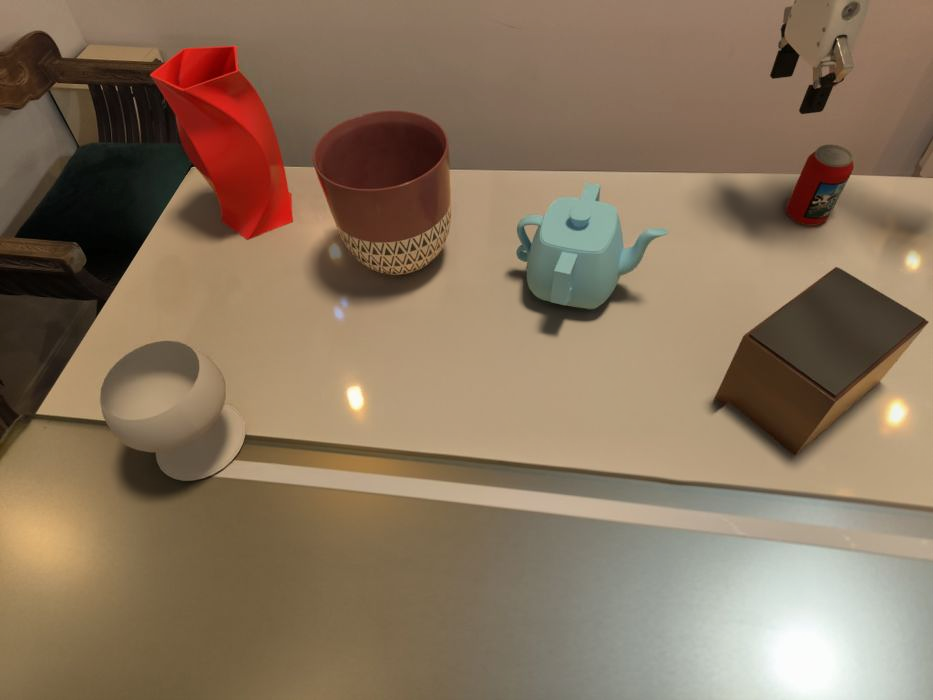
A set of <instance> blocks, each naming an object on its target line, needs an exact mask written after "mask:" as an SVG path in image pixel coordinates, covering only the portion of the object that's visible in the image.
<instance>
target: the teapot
mask: <svg viewBox="0 0 933 700" xmlns="http://www.w3.org/2000/svg"><path fill="white" fill-rule="evenodd" d="M600 198H601V184H596V183H590V182H586V183H585V185H584V188H583V191H582V193H581V196H580V197H573V196H572V197H571V196H561V197H558V198H556V199H554V200H553V202H552V203H551V204H550V206H549V207H548V209H547V210H546V212H545V214H544V216H543V215H541V214H527V215H525V216H524V217H522V218H520V220H519V221H518V223H517V226H516V234H517V237H518V240H519V242H520V245H519V246H518V247H517V249H516V252H515V253H516V257H517V258H518V259H519V260H520V261H521V262H523V263H526V282H527V285H528V288H529V290H530V291H531V292H532V294H533V295H534V296H535V297H536V298H538V299H540V301H546V302H550V303H553V304H558V305H561V306H569V307H573V308H579V309H586V310H591V311H592V310H596V309H597V308H599V307H600V306H602V304H604V303H605V302H606V301H607V300H608V299H609V297H610V296H611V295H612V293H613V292H614V290H615V289H616V286H617V285H618V282H619V280H620V278H621V276H624V275H628V274H629V273H631V272H633V271H634V270H635V269H636V268H638V266H639V265H640V263H641V261H642V259H643V257H644V255H645V252H646V250H647V248H648V246H649V245H650V243H651V242H652V241H654V240H655V239H657V238H660V237H664V236H666V235H667V234H669V232H670V231H669V230H668V229H666V228H661V227H653V228H648V229H646V230H644V231H642V232H641V233H640V234H639V236H638V237H637V239H636V240H635V243H634V244H633V245H632V246H631V247H627V248H624V237H623V236H624V235H623V230H622V229H623V228H622V224H621V221H620V217H619V216H620V215H619V214H618V210H617V208H616V207H615V206H614V205H612V204H610V203H607V202H605V201H604V202H603V201H600ZM531 225H532V226H537V229H536V231H535V232H534V234H533V235H534V236H533V238H532V241H531V239H530V238H529V237H528V234H527V232H526V229H525V227H526V226H531Z"/></svg>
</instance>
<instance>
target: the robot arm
mask: <svg viewBox="0 0 933 700" xmlns="http://www.w3.org/2000/svg"><path fill="white" fill-rule="evenodd" d="M870 3H871V0H794V2H793V3H792V5H791V6H790V5H789V6H786V7H785V8H784V10H783V18H782V19H783V20H782V23H783V24H782V25H781V28H780V35H781V36H780V40H779V41H778V42H777V43H778V44H777V49H778V50H777V53H776V55H775V59H774V62H773V65H772V68H771V71H770V74H769V77H770V78H771V79H772V80H774V79H782V78H791V77H793V75H794V72H795V70H796V67H797V65H798V61H799V59H800V58H802V60H803V61H804V62H805V63H806V64H808V65H809V66H810V67H812V84H808V86H807V88H806V92H805V93H804V96H803V99H802V101H801V104H800V107H799V110H798V112H799V113H800V114H801V115H807V114H815V113H821V112H823V111H824V109H825V108H826V105H827V102H828V100H829V98H830V95H831V93H832V90H833V89H834V87H838V84H840V83H842V82H843V81H844V80H845V78H846V77H847V76H848V75H849V74H850V73H851V71H852V70H854V61H853V58H852V55H853V52H854V50H855V47H856V44H857V42H858V40H859V37H860V34H861V32H862V29H863V26H864V23H865V20H866V17H867V14H868V10H869V7H870ZM828 57H829V59H830V60H825V59H826V58H828ZM823 60H824V61H823ZM823 68H828V73H827V74H825V75H823Z"/></svg>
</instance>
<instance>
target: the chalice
mask: <svg viewBox="0 0 933 700" xmlns="http://www.w3.org/2000/svg"><path fill="white" fill-rule="evenodd" d="M226 387H227V385H226V380H225V377H224V374H223V372H222V370H221V368H220V367H219V366H218V365H217V364H216V362H215V361H214V359H212V358H211V357H210V356H208V355H207V354H206V353H204V352H203V351H201V350H200V349H198V348H197V347H194V346H193V345H190V344H188V343H184V342H182V341H178V340H177V341H176V340H162V341H159V340H158V341H154V342H151V343H146V344H144V345H142V346H140V347H137V348H135V349H133V350H131V351H130V352H128V353H127V354H125V355H124V356H123V357H121V358H120V359H119V360H118V361H117V362H115V364H114V365H113V366H112V367H111V368H110V369H109V371H108V372H107V374H106V376H105V377H104V379H103V382H102V385H101V387H100V394H99V404H100V408H101V413H102V417H103V420H104V421H105V423H106V425H107V426H108V428H109V430H110V431H111V433H112V434H113V436H114V437H115V438H116V439H118V440H119V441H120V442H121V443H122V444H124V445H125V446H126V447H129V448H130V449H133V450H136V451H140V452H146V453H155V457H156V463H157V465H158V466H159V469H160V470H161V471H162V473H164V474H165V475H166V476H167V477H170V478H172V479H174V480H178V481H182V482H186V481H187V482H189V481H198V480H202V479H205V478H208V477H210V476H212V475H215V474H217V473H218V472H219V471H221V470H223V469H224V468H225V467H227V466H228V465H229V464H230V463H231V462H232V461H233V460H234V459H235V457H237V455H238V453H239V452H240V450H241V449H242V447H243V445H244V441H245V437H246V432H247V431H246V430H247V429H246V422H245V419H244V416H243V415H242V414H241V413H240V411H238V410H237V409H236V408H235V407H234V406H232V405H229V404H227V403H225V402H226V397H227V388H226Z"/></svg>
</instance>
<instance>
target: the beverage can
mask: <svg viewBox="0 0 933 700" xmlns="http://www.w3.org/2000/svg"><path fill="white" fill-rule="evenodd" d="M853 171H854V155H853V153H852V151H850V150H849V149H848V148H846V147H843V146H841V145H837V144H823V145H820V146H818V148H816V150H815V151H813V152H811V154H809V155H808V157H807V159H806V161H805V163H804V165H803V168H802V170H801V172H800V174H799V176H798V178H797V181H796V183H795V186H794V188H793V190H792V193H791V194H790V197H789V200H788V202H787V204H786V208H785V211H786V214H787V215H788V217H790V218H791V219H792V220H793V221H795V222H796V223H798V224H801V225H805V226H816V225H821V224H823V223H825V222H827V220H828V219H829V217H830V215H831V213H832V212H833V209H834V208H835V206H836V205H837V203H838V200H839V198H840V197H841V194H842V192H843V190H844V188H845V187H846V185H847V183H848V181H849V179H850V177H851V175H852V173H853Z"/></svg>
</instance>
